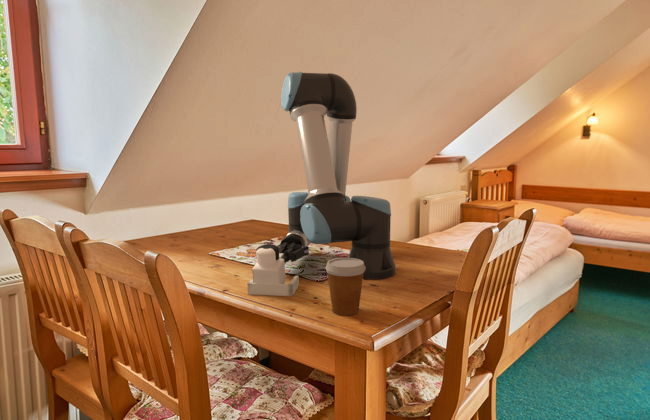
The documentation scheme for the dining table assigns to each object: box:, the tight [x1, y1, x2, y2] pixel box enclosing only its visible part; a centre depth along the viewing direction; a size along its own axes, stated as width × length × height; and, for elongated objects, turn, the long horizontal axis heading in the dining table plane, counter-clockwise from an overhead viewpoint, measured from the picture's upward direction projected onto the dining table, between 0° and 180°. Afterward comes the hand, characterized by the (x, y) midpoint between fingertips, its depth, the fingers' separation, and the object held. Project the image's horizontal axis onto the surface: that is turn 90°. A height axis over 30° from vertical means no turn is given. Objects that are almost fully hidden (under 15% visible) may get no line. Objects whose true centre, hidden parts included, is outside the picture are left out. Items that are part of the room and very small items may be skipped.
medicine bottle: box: [251, 243, 287, 284], centre depth 130 cm, size 7×7×12 cm
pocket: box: [246, 275, 300, 297], centre depth 132 cm, size 12×8×3 cm
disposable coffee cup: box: [324, 257, 366, 316], centre depth 115 cm, size 10×10×12 cm
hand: (275, 263), depth 134 cm, fingers closed
